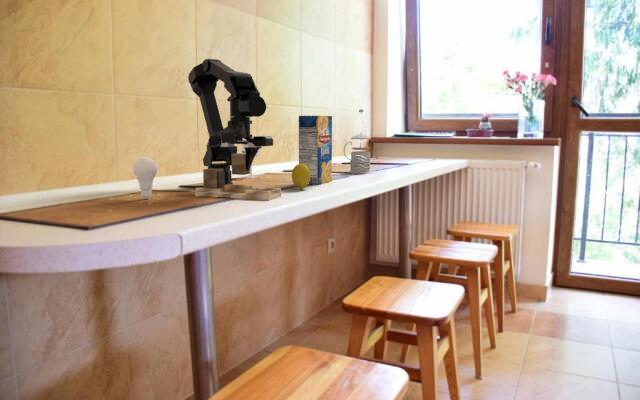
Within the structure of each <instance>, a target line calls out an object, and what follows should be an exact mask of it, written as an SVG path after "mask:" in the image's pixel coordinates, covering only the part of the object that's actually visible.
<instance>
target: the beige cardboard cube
mask: <svg viewBox="0 0 640 400" xmlns="http://www.w3.org/2000/svg"><path fill="white" fill-rule="evenodd" d="M231 155H232V166H231V175H233V176H234V175H239V176H244V175H245V176H247V175H251V173H250V169H249V171H247V170H246V153H242V152H240V153H239V152H237V153H236V154H231Z"/></svg>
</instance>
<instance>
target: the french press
mask: <svg viewBox="0 0 640 400" xmlns="http://www.w3.org/2000/svg"><path fill="white" fill-rule="evenodd" d="M358 113H360V114H362V113H364V109H363V108H360V109H359V110H358ZM371 139H372V137H371V136H369V135H367V134H364V133H359V134H355V135H352V136H351V137H350V140H371ZM349 143H350V146H352V144H353V143H352V141H348V142H346V143H345V145H344V147H343V154H344V157H345V158H346V159H348V160H349V161H350V170H349V171H348V174H358V175H359V174H364V175H365V174H372V173H373V171H372V170H371V151H367V150H370V149H371V148H370V147H362V143H360V146H359V147H352V148H351V150H355V151H351V153H350V158H348V157H347V156H346V151H345V149H346V146H347V145H348V144H349ZM356 150H357V151H356Z"/></svg>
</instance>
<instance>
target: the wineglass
mask: <svg viewBox="0 0 640 400" xmlns="http://www.w3.org/2000/svg"><path fill="white" fill-rule="evenodd" d="M241 146H242V147H241V149H240V150H241V152H240V153H246V151H245V148H244V147H248V144H241ZM260 153H261V149H259V150H258V152H257V153H256V155H255V157H254V159H255V158H257V157H258V156H259V155H260ZM252 167H253V163H252V164H251V167H250V174H248V175H245V176H243V177H244V179H256V178H258V176H256V175H253V174H252V173H253V172H252V171H253V169H252Z"/></svg>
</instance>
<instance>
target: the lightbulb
mask: <svg viewBox="0 0 640 400" xmlns="http://www.w3.org/2000/svg"><path fill="white" fill-rule="evenodd" d="M132 172H133V174H134V176H135V177H136V179H137V182H138V186H139V189H140V197H142V198H143V199H144V200H149V198H151V197H152V189H153V183H154V179H155V177H156V175H157V173H158V165H157V163H156V162H155V160H154V159H152V158H151V157H148V156H141V157H139V158H137V159H136V160H135V161H134V163H133V164H132Z"/></svg>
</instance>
